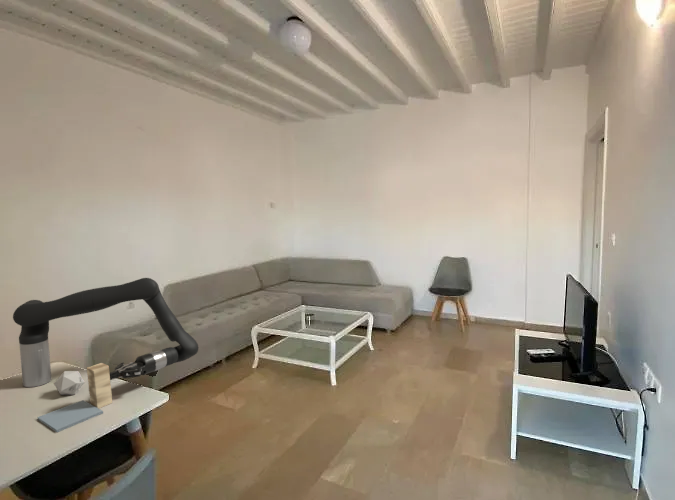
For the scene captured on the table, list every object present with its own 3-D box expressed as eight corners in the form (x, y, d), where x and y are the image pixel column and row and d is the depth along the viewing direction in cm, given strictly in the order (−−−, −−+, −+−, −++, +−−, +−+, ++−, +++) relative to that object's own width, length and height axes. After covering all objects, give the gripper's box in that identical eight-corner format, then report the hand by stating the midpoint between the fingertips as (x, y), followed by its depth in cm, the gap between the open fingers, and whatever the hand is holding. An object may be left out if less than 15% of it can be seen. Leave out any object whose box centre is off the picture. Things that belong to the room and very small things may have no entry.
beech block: (90, 405, 142) (86, 367, 140) (105, 398, 146) (101, 362, 144) (97, 408, 139) (93, 371, 137) (112, 402, 143) (108, 365, 141)
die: (62, 402, 145) (80, 378, 147) (43, 389, 146) (62, 365, 148) (76, 400, 153) (94, 376, 155) (59, 387, 154) (76, 364, 157)
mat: (37, 419, 132) (37, 417, 132) (83, 402, 144) (82, 400, 144) (56, 432, 125) (56, 430, 124) (103, 413, 136) (102, 410, 136)
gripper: (141, 349, 161) (96, 363, 147) (161, 356, 154) (115, 371, 140) (142, 367, 162) (97, 383, 148) (161, 375, 155) (117, 392, 140)
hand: (106, 377), depth 144 cm, fingers closed
